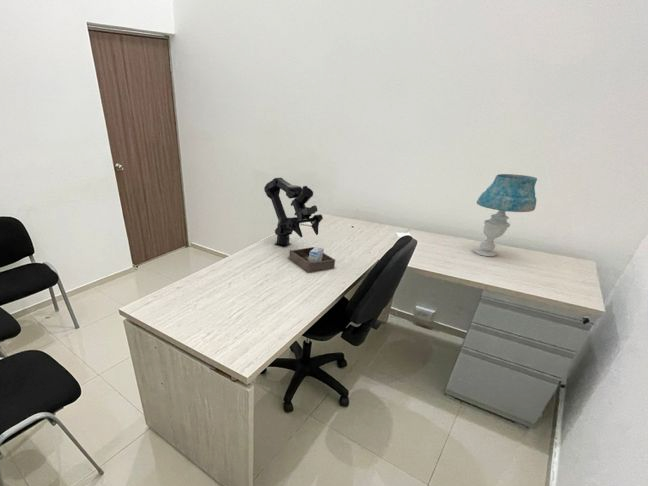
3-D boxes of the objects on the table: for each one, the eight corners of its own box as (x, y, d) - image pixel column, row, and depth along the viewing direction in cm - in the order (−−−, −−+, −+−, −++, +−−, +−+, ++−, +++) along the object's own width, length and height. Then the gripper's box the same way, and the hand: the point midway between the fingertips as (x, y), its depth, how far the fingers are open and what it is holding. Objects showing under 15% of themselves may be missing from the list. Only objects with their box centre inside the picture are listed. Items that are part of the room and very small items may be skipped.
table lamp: (463, 258, 173) (494, 179, 153) (455, 243, 192) (481, 171, 173) (518, 264, 166) (557, 182, 146) (504, 248, 185) (537, 174, 165)
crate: (288, 258, 174) (289, 250, 171) (312, 254, 178) (313, 246, 176) (308, 272, 158) (309, 264, 156) (333, 268, 163) (335, 259, 161)
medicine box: (313, 262, 169) (315, 246, 165) (321, 264, 167) (324, 248, 163) (307, 267, 164) (309, 251, 160) (315, 269, 162) (317, 253, 157)
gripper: (291, 201, 158) (301, 230, 154) (323, 198, 164) (333, 226, 160) (281, 213, 168) (290, 240, 165) (312, 210, 174) (322, 236, 171)
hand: (309, 235), depth 165 cm, fingers open, 9 cm apart
